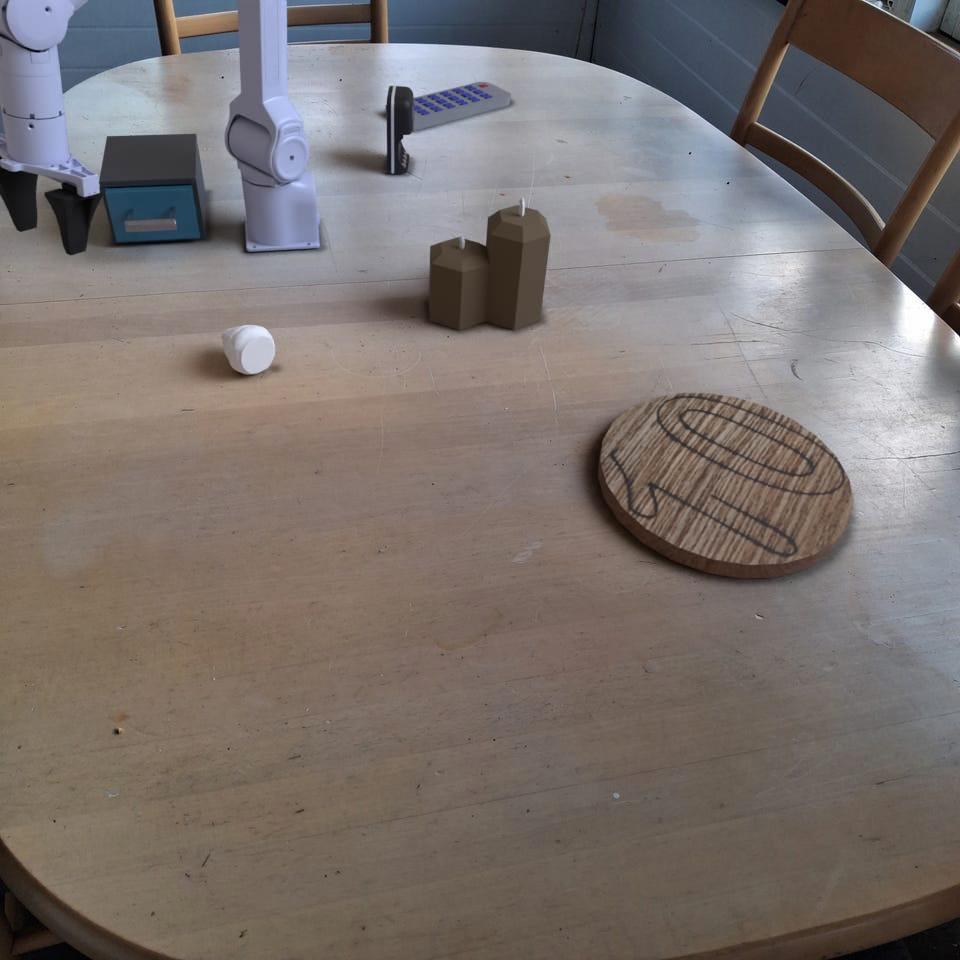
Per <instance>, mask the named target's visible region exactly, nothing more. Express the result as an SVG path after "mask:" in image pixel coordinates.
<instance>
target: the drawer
mask: <svg viewBox="0 0 960 960" xmlns="http://www.w3.org/2000/svg"><path fill="white" fill-rule="evenodd" d="M105 196H106V200H107V204H108V208H109V212H110V217H111V221H112V225H113V229H114V233H115V237H116V242H130V241H149V240H169V239H189V238H200V230H199V224H198V218H197V212H196V206H195V200H194V195H193V189H192V185H190V184H177V185H152V186H126V187H113V188H108V189H105Z"/></svg>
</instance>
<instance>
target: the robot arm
mask: <svg viewBox="0 0 960 960" xmlns="http://www.w3.org/2000/svg"><path fill="white" fill-rule="evenodd" d="M89 1H90V0H0V111H1V112H0V113H1V118H2V123H3V129H4V130H3V131H4V134H3V133H1V132H0V197H1V199H2V201H3V203H4V205H5V207H6V209H7V212H8V214H9V216H10V218H11V221H12V223H13V225H14V228H15V229H16V231H18V232H20V233H22V232H26V231H29V230H32V229H37V228H38V218H39V217H38V204H37V187H38V179H39V178H38V177H39V176H43V177H45V178H48V179H50V180H52V181H54V182H57V183H58V184H61V187H60V188H55V189H52V190H48V191H44V193H43V195H44V198H45V199H46V201H47V202H48V204H49V205H50V207H51V209H52V211H53V213H54V216H55V219H56V222H57V224H58V228H59V233H60V239H61V242H62V246H63V249H64V252H65V254H66V255H69V256H75V255H78V254H81V253H84V252H86V251H87V246H88V240H89V234H90V229H91V225H92V222H93V218H94V214H95V213H96V210H97V208H98V206H99V204H100V202H101V201H102V200H103V189H102V188H101V187H100V185H99V174H98V173H96V172H94V171H91V170H90V169H88V168H87V167H86V166H85V165H84V164H83V163H82V162H81V161H80V160H78V158H77V157H76V156H74V155H73V154H72V153H71V152H70V143H69V137H68V136H69V135H68V127H67V118H66V109H65V102H64V101H65V100H64V93H63V85H62V75H61V68H60V59H59V52H58V51H59V50H58V44H61V43H62V42H63V40H64V38H65V36H66V34H67V31H68V26H69V20H70V18H71V17H72V16H73V15H75V14H74V13H75V12H77V11H78V10H79V9H80V8H82V7H83V6H85V5H86V4H87V3H89ZM236 2H237V3H236V4H237V25H238V26H237V28H238V50H239V51H238V52H239V77H240V93H239V94H238V95H237V96H236V97H235V98H234V99H232V100H231V101H230V103H229V105H228V107H229V108H228V110H229V114H228V115H229V117H228V122H227V124H226V126H225V130H224V146H225V149H226V150H227V152H228V154H229V155H230V156H231V157H232V158H234V159H235V160H236V162H237V163H236V164H237V169H238V170H239V171H240V178H241V185H242V193H243V202H244V208H245V210H244V211H245V217H246V218H245V219H246V220H244V231H245V232H244V233H245V247H246V251H247V252H250V253H251V252H269V251H271V252H272V251H287V250H289V251H291V250H305V249H306V250H308V249H309V250H310V249H319V248H320V247H321V243H320V233H319V227H320V226H321V220H320V212H319V211H318V203H317V191H316V182H315V173H314V171H313V170H306V168H307V166H308V163H309V159H310V147H309V142H308V140H307V138H306V136H305V131H304V129H305V128H304V120H303V118H302V116H301V114H300V113H299V112H298V109H296V107H295V106H294V104H293V102H292V101H291V100H290V98H289V96H288V0H237V1H236Z"/></svg>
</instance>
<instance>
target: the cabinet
mask: <svg viewBox="0 0 960 960" xmlns="http://www.w3.org/2000/svg"><path fill="white" fill-rule="evenodd" d="M198 142H199V141H198V136H197V133H172V134H171V133H167V134H135V135H107V136H106V139H105V144H104V150H103V157H102V161H101V168H100V173H99V177H98V179H99V187H101V188H102V189H103V197H102V200H103V206H104V209H105V214H106V217H107V221H108V225H109V229H110V234H111V238H112V243H113V245H125V244H143V243H144V244H145V243H163V242H181V241H201V240H203V241H204V240H206V238H207V230H206V229H207V223H206V221H207V219H206V215H207V211H206V210H207V209H206V208H207V206H206V205H207V204H206V203H207V202H206V200H207V199H206V187H205V186H206V185H205V180H204V174H203V167H202V161H201V155H200V154H201V153H200V148H199V143H198ZM177 184H190V185H192V189H193V195H194V200H195V206H196V212H197V218H198V224H199V230H200V238H189V239H169V240H149V241H130V242H116V237H115V233H114V229H113V225H112V221H111V217H110V212H109V208H108V204H107V200H106V196H105V189H108V188H113V187H126V186H152V185H177Z"/></svg>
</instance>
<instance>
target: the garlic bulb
mask: <svg viewBox="0 0 960 960" xmlns="http://www.w3.org/2000/svg"><path fill="white" fill-rule="evenodd" d="M221 339H222V348H223V352H224V355H225V357H226V358H227V360H228V362H229V365H230V367H231V368H232V369H233V370H235V371H236V372H238V373H241V374H243V375H257V374H259V373H261V372H263V371H266V370H267V369H269V367H270V366H271V364H272V362H273V361H274V358H275V356H276V344H275V341H274V337H273V336H272V335H271V333H270V332H269V331H268V330H267V329H266V327H264V326H261V325H256V324H243V325H238V326H234V327H230V328H227V329H225V330H224V331H223V332H222V333H221Z"/></svg>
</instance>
